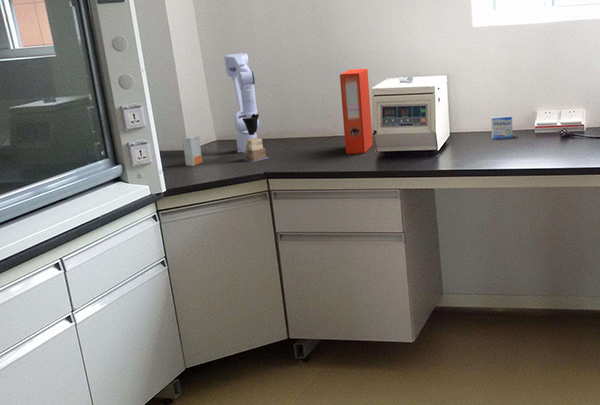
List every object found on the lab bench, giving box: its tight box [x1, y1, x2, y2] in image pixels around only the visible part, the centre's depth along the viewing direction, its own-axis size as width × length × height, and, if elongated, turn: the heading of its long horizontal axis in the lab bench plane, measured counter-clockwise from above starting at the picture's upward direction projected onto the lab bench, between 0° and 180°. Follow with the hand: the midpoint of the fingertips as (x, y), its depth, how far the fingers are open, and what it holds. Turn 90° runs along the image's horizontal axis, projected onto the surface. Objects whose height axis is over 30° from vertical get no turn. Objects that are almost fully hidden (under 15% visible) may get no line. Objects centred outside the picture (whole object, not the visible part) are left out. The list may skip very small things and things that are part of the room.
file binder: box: [339, 68, 374, 155], centre depth 317 cm, size 8×17×32 cm, turn 164°
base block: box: [245, 147, 267, 162], centre depth 320 cm, size 6×6×4 cm
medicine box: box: [490, 115, 514, 140], centre depth 313 cm, size 8×4×9 cm, turn 81°
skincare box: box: [182, 135, 203, 167], centre depth 323 cm, size 6×4×12 cm
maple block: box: [245, 137, 264, 151], centre depth 320 cm, size 5×5×4 cm
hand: (252, 133), depth 324 cm, fingers open, 7 cm apart
